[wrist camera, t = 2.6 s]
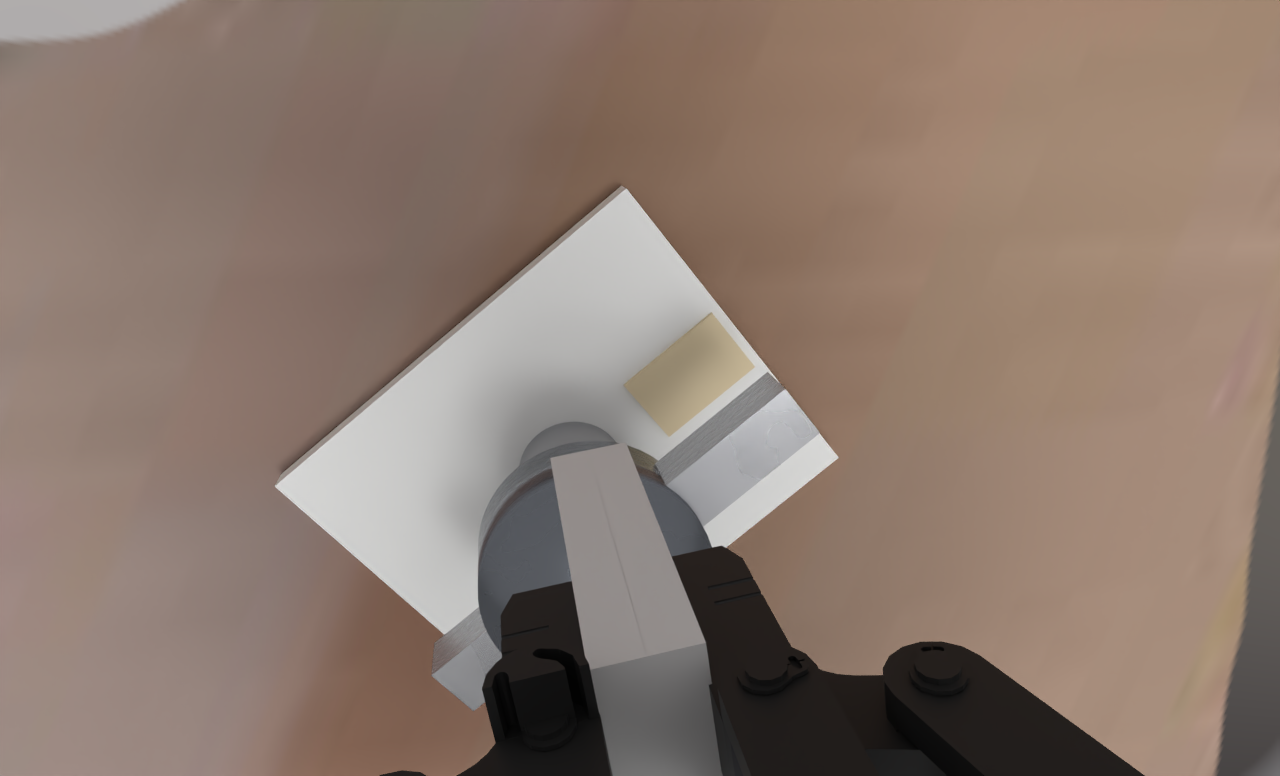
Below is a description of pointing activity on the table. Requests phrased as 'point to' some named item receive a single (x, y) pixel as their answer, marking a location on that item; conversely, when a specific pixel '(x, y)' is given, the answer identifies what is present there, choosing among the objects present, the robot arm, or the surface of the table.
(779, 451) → the knob
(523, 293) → the lock base
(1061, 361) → the table surface
